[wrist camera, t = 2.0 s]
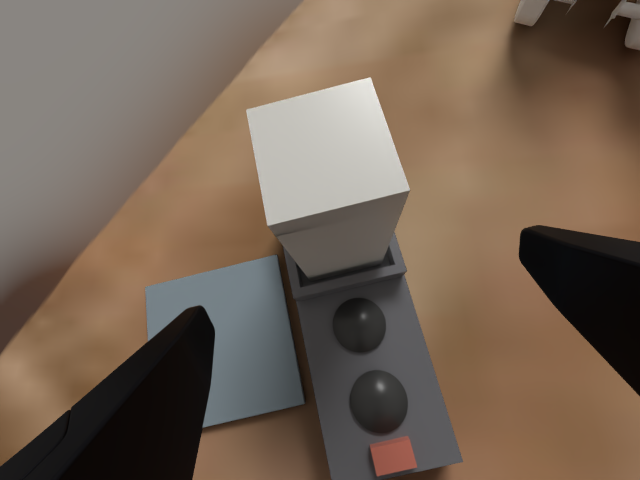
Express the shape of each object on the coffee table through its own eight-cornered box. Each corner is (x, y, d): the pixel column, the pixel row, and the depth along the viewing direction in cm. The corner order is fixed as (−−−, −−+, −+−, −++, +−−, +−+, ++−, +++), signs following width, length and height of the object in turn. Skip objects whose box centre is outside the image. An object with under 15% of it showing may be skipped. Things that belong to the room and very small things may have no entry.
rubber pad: (305, 402, 19) (304, 403, 19) (156, 437, 20) (152, 439, 19) (277, 256, 22) (276, 254, 22) (148, 287, 23) (145, 286, 22)
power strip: (448, 445, 18) (473, 474, 14) (336, 470, 18) (331, 505, 14) (372, 197, 23) (376, 170, 19) (285, 219, 23) (271, 196, 19)
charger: (381, 264, 19) (410, 190, 9) (310, 281, 19) (267, 225, 9) (362, 199, 20) (370, 77, 11) (296, 215, 20) (246, 109, 11)
